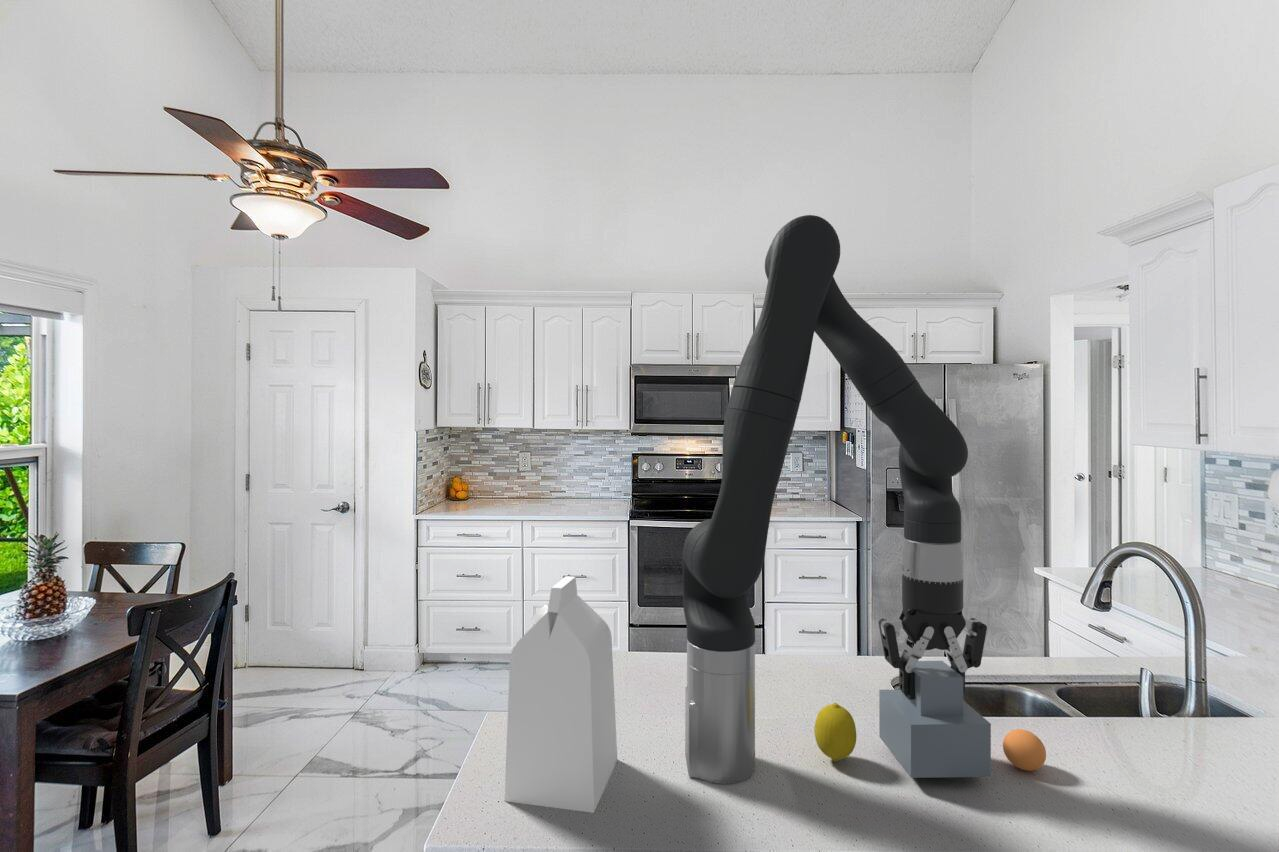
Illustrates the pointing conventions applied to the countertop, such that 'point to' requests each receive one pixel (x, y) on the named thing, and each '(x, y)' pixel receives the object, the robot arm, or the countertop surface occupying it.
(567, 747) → the milk
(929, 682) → the gray stepped step block
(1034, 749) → the brown egg
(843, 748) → the lemon
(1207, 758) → the countertop surface
